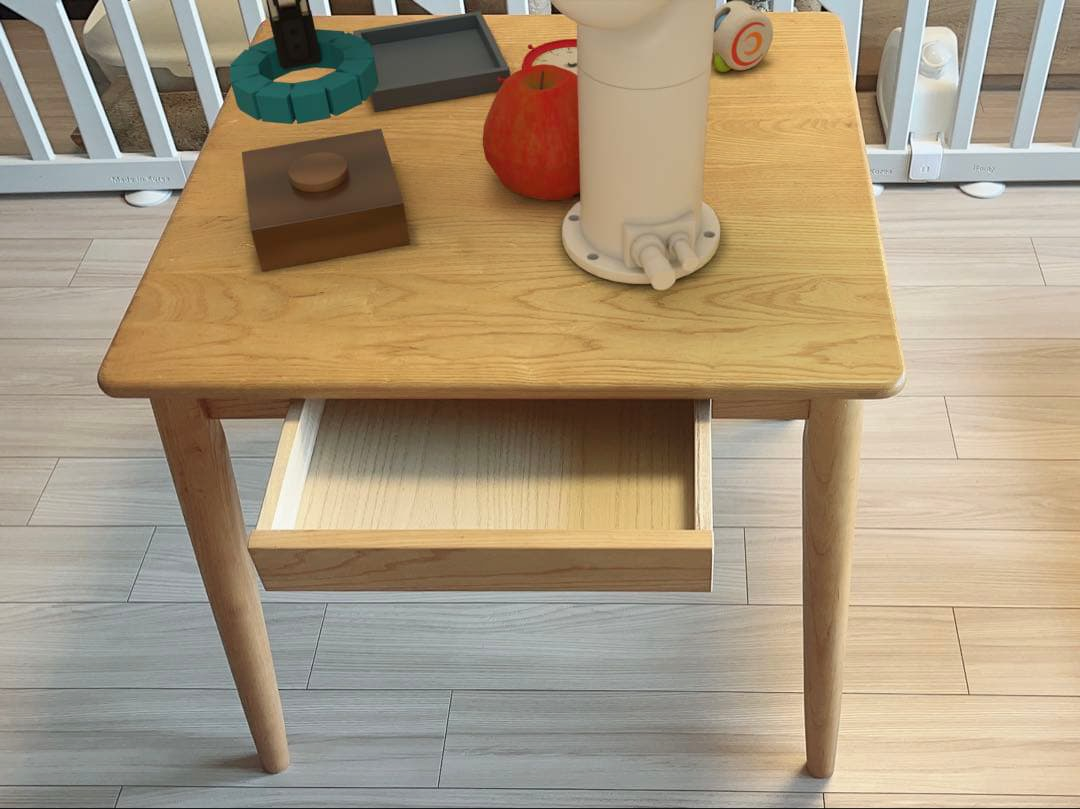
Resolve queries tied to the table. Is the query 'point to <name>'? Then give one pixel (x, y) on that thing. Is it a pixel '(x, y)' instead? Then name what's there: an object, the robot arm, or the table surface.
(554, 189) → the apple
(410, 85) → the tray
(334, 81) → the ring
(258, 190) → the platform
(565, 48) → the alarm clock
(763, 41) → the roller toy
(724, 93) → the table surface
